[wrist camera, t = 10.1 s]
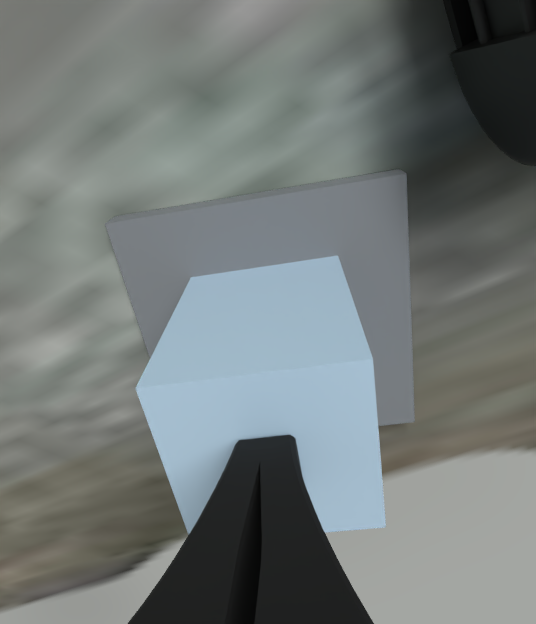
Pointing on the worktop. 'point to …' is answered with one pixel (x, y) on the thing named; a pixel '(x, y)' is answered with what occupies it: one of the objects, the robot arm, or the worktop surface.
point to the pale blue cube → (269, 387)
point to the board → (287, 259)
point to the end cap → (498, 69)
